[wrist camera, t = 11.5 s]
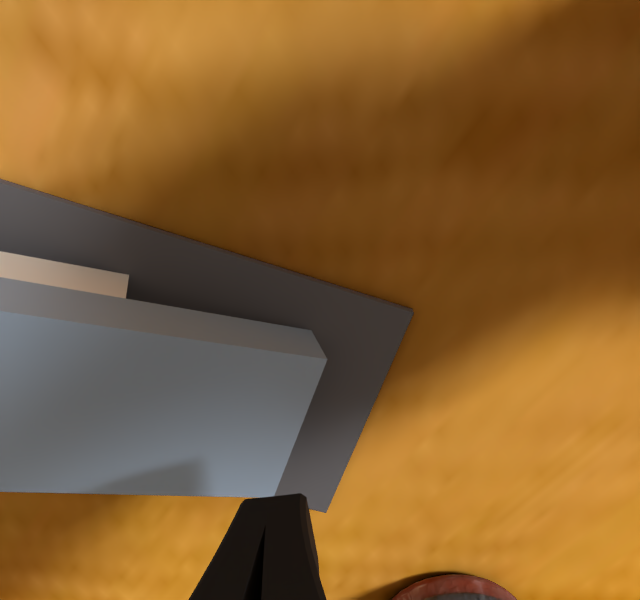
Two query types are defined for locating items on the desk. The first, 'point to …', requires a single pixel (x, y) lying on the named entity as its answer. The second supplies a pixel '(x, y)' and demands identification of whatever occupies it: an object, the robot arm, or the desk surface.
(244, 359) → the tile
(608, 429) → the desk surface
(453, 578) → the supplement bottle
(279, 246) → the desk surface
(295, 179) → the desk surface
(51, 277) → the tile
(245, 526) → the robot arm
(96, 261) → the runner mat
